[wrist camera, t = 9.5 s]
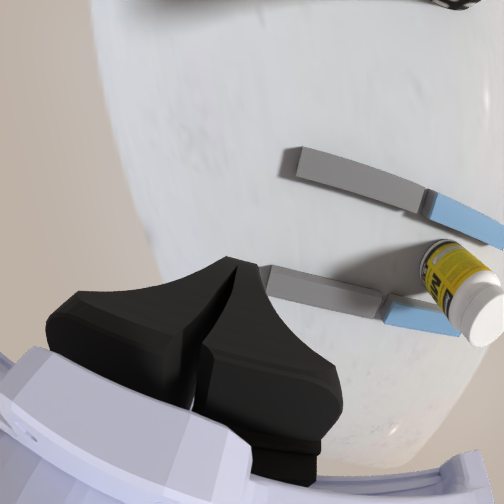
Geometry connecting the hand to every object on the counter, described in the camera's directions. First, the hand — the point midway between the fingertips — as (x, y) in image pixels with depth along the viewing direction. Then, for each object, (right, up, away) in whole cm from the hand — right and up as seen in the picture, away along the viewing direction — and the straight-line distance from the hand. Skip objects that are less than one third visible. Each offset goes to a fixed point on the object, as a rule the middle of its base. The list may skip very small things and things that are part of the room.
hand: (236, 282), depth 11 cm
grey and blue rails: (+12, +1, +9) cm, 15 cm away
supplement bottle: (+16, 0, +9) cm, 19 cm away
